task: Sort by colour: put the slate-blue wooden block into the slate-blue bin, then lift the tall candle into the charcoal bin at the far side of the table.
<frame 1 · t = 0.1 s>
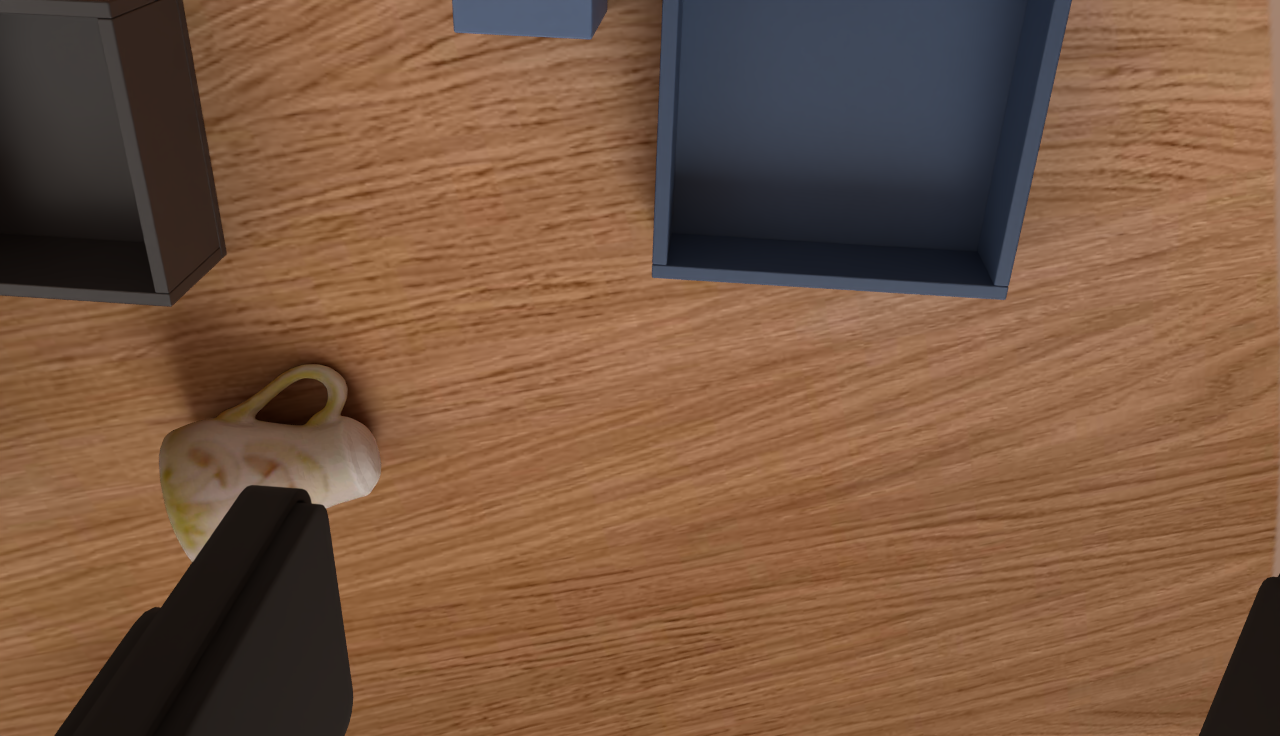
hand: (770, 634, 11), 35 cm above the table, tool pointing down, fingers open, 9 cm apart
mug: (296, 435, 54), on the table
charcoal bin: (68, 116, 46), on the table
blue bin: (840, 87, 43), on the table
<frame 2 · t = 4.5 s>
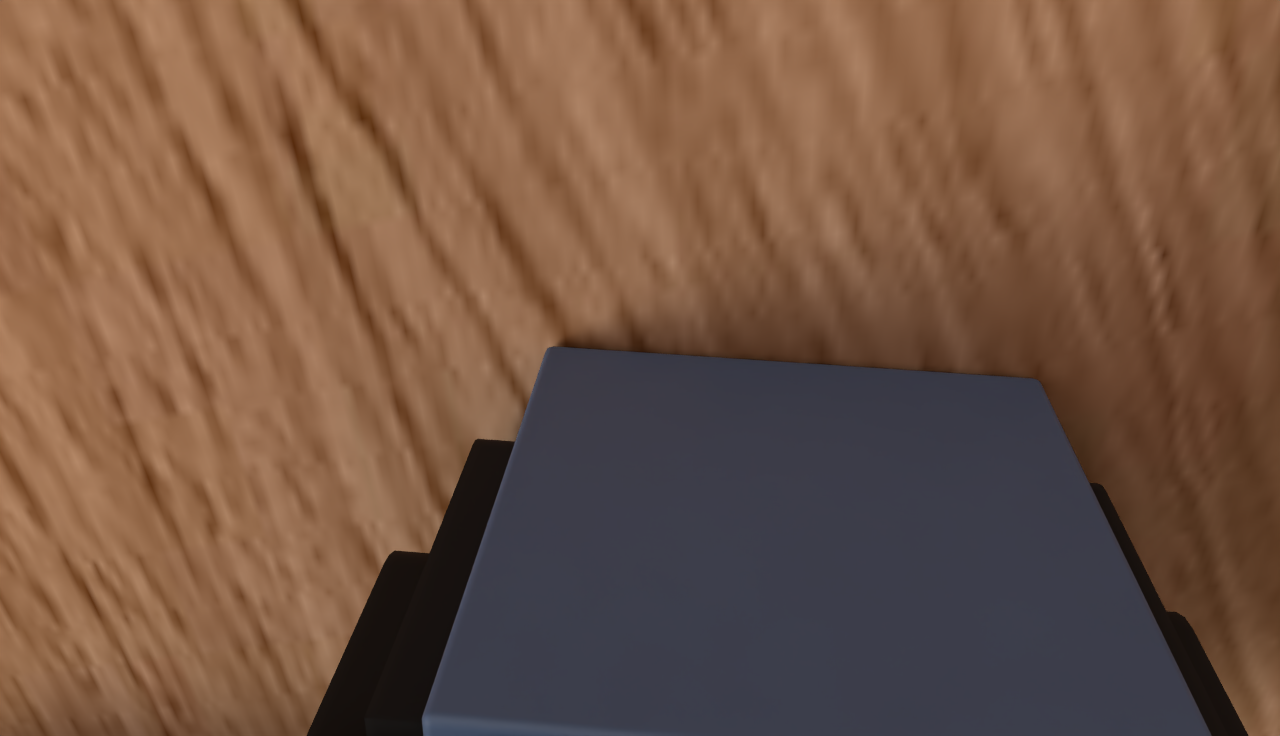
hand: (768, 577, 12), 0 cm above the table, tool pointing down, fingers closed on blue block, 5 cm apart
blue block: (768, 552, 12), on the table, touching gripper
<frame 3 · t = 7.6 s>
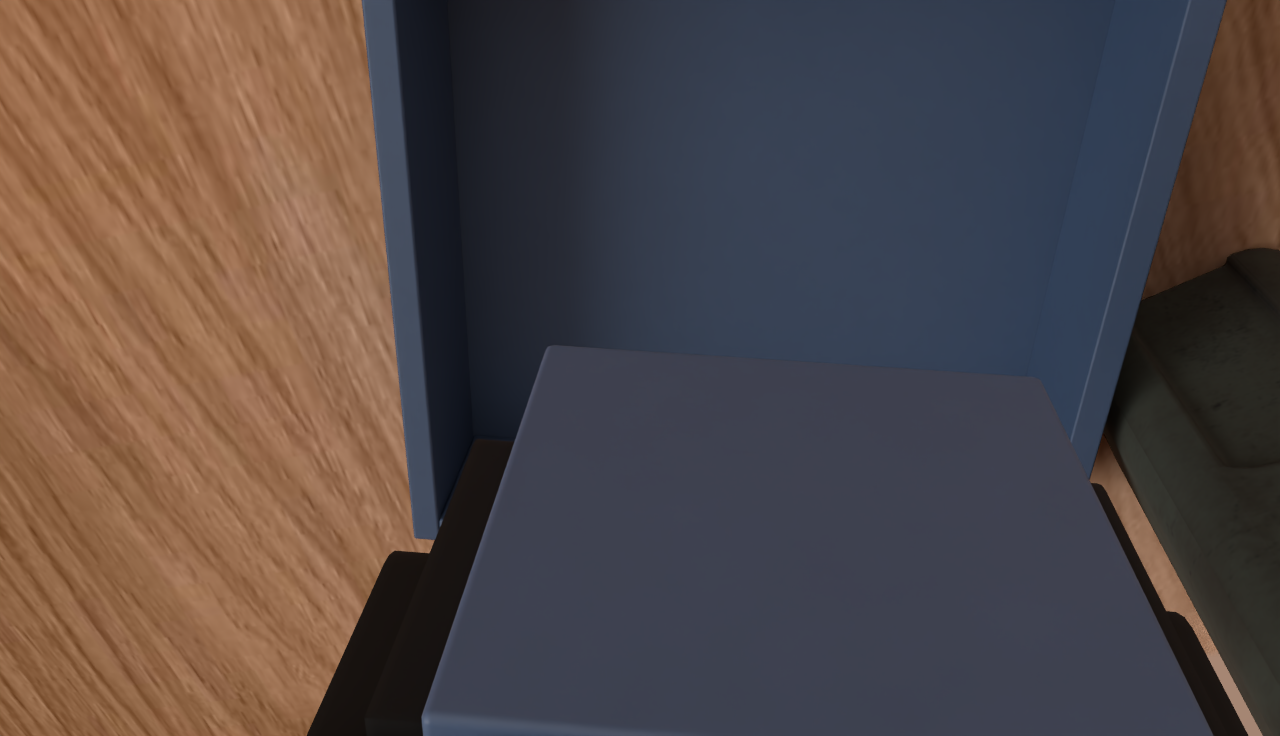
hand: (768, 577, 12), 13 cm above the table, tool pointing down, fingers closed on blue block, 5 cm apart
blue block: (768, 551, 12), point 13 cm above the table, touching gripper
blue bin: (754, 195, 23), on the table
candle: (1201, 364, 25), on the table
when the fingers open (1 cm above the table, at t = 10.7 s): blue block stays where it is, resting on blue bin.
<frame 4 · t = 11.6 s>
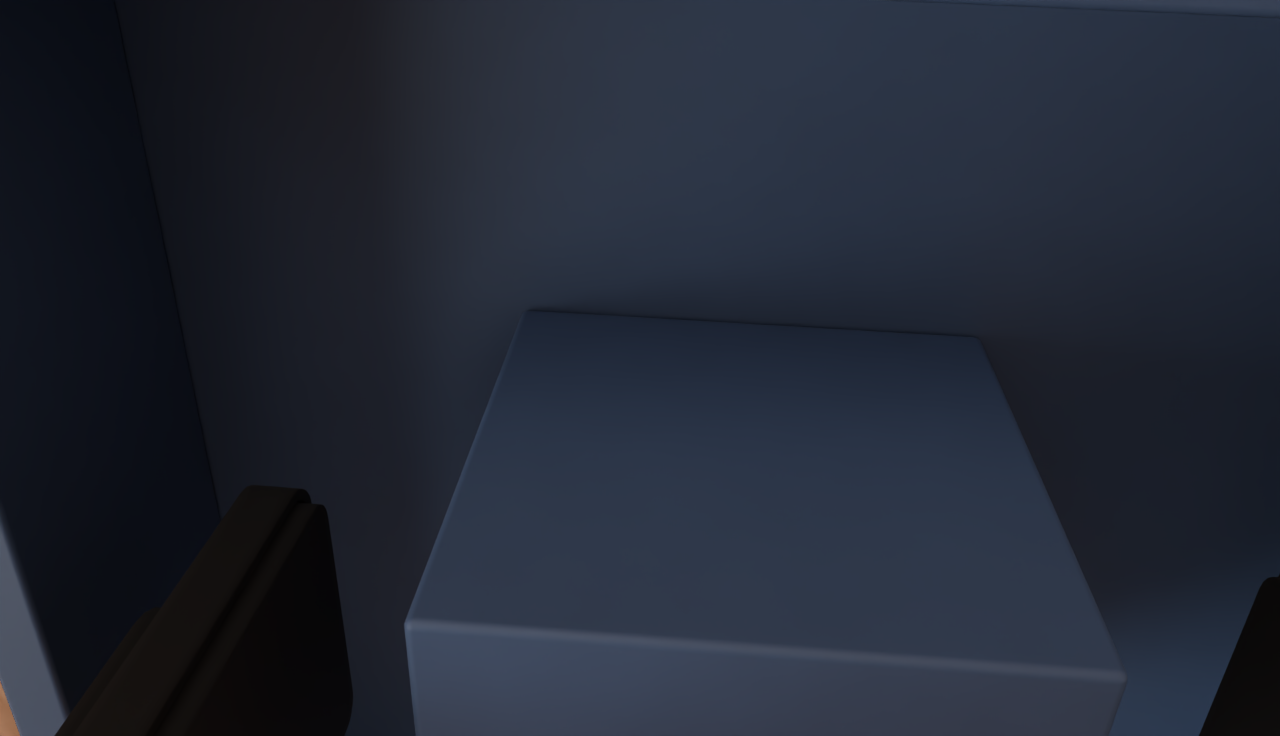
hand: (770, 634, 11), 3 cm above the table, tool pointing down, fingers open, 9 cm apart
blue block: (732, 505, 13), resting on blue bin
blue bin: (739, 482, 13), on the table
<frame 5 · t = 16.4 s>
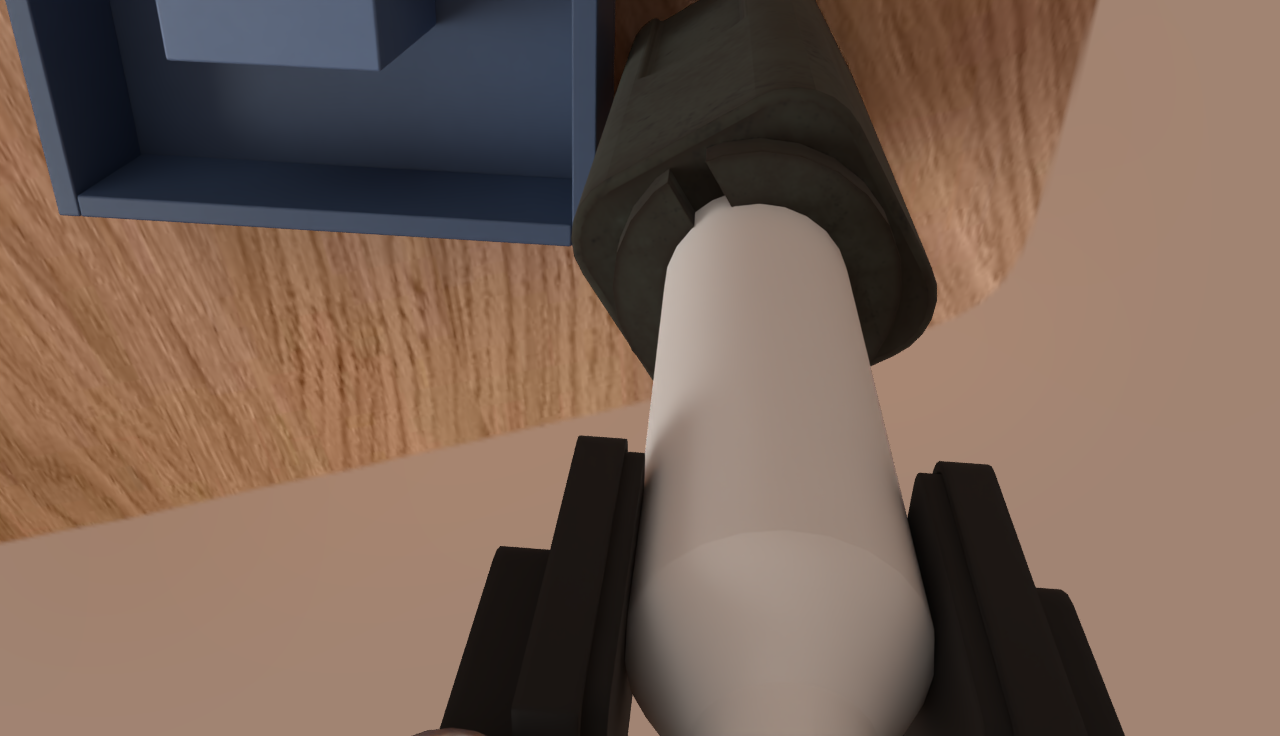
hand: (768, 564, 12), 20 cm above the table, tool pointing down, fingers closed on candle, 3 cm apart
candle: (743, 76, 29), on the table, touching gripper
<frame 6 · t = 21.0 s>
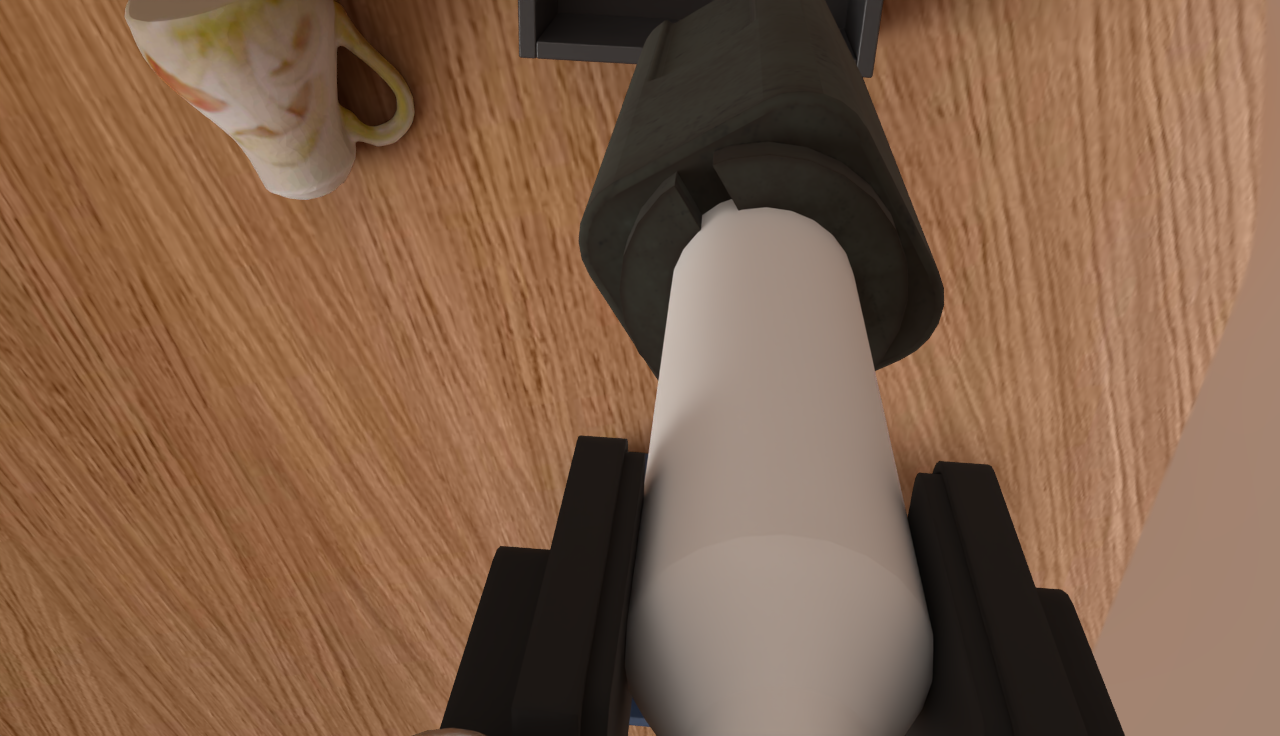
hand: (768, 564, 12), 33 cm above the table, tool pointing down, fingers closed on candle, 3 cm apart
mug: (304, 58, 44), on the table
blue bin: (724, 574, 55), on the table
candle: (753, 78, 29), point 13 cm above the table, touching gripper
when the fingers open (20 cm above the table, at t = 25.4 s): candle stays where it is, resting on charcoal bin.
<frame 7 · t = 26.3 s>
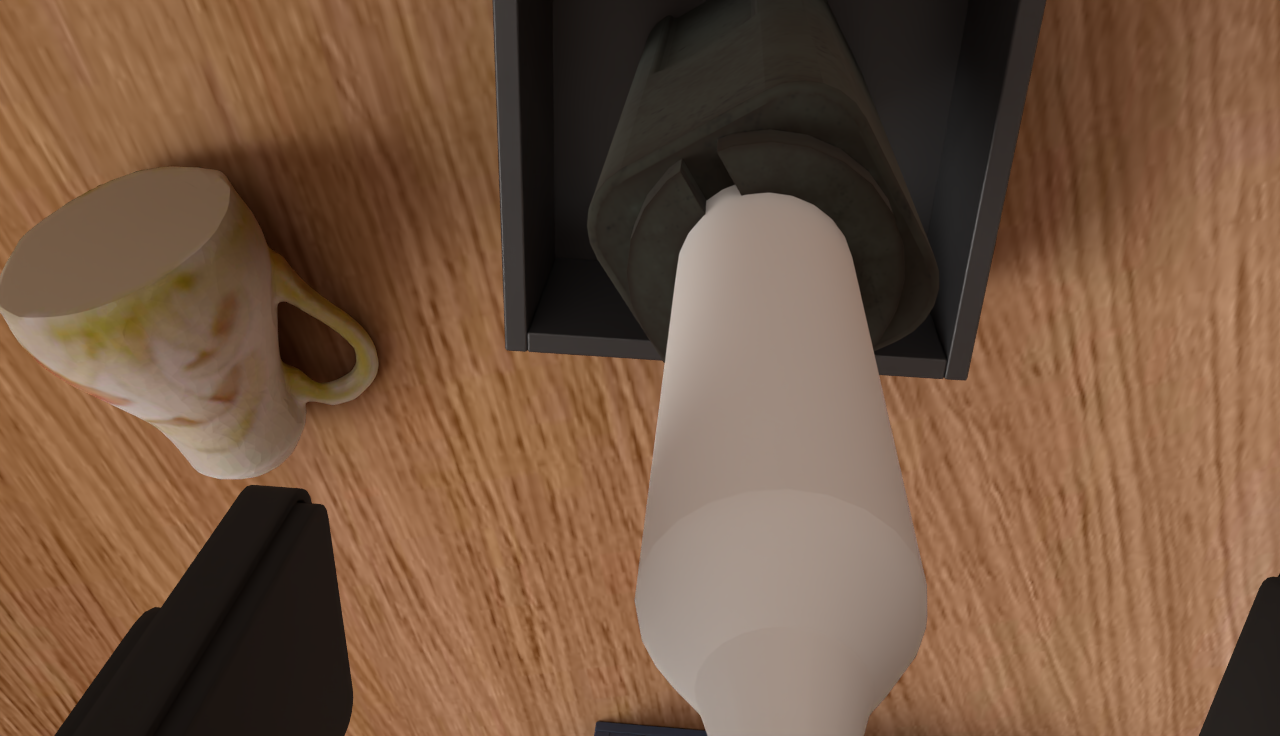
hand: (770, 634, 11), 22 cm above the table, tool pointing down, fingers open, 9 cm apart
mug: (241, 299, 35), on the table
charcoal bin: (750, 81, 30), on the table
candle: (754, 72, 30), resting on charcoal bin
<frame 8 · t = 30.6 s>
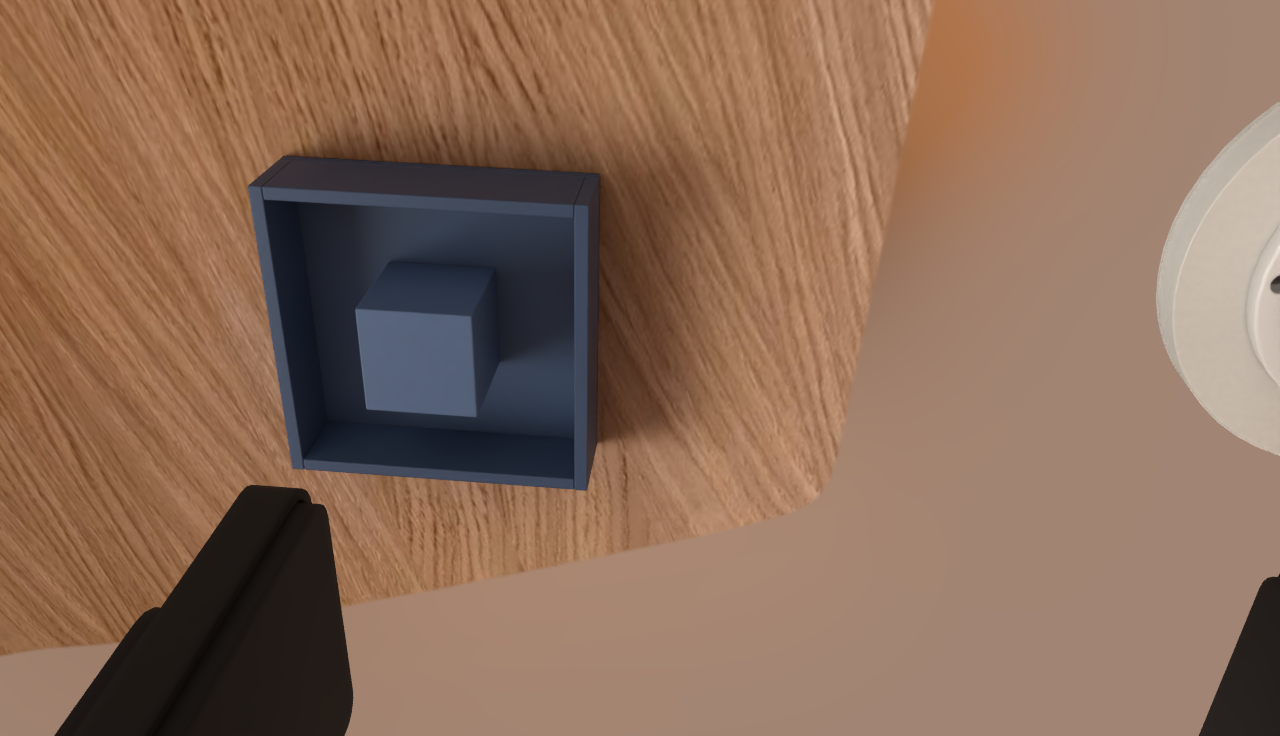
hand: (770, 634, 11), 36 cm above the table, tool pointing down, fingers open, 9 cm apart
blue block: (445, 313, 50), resting on blue bin
blue bin: (449, 308, 51), on the table
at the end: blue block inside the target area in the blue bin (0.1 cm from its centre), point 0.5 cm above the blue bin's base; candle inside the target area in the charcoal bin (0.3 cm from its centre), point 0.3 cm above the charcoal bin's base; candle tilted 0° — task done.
